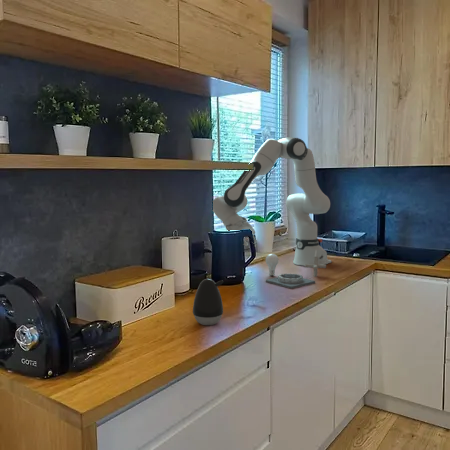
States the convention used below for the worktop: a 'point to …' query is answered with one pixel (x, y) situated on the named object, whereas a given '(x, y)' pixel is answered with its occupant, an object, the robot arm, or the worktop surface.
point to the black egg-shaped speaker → (208, 303)
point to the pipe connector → (315, 265)
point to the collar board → (294, 285)
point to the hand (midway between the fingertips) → (251, 243)
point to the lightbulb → (272, 263)
